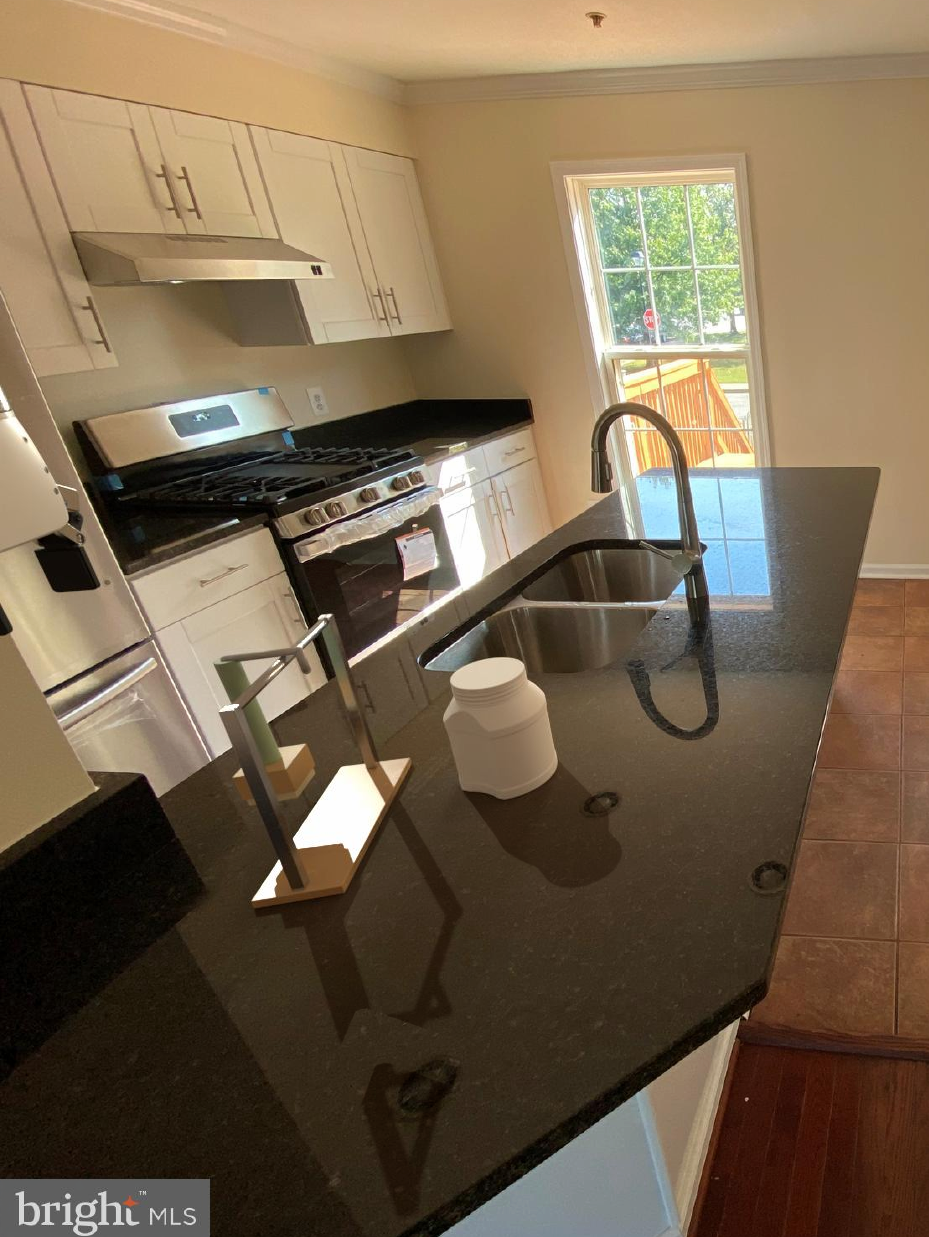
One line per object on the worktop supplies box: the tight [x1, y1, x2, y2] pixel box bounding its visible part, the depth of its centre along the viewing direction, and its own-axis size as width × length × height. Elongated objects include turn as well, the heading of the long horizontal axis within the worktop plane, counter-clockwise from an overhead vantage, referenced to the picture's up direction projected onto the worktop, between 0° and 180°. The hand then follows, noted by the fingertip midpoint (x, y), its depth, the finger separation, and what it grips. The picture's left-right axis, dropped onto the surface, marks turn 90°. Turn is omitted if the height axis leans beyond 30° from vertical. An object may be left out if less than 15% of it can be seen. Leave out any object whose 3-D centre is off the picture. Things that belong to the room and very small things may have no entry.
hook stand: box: [212, 646, 316, 807], centre depth 75 cm, size 9×5×17 cm, turn 105°
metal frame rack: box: [218, 613, 412, 909], centre depth 77 cm, size 8×23×22 cm, turn 15°
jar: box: [442, 656, 559, 801], centre depth 88 cm, size 12×10×15 cm
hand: (35, 611), depth 58 cm, fingers open, 9 cm apart
